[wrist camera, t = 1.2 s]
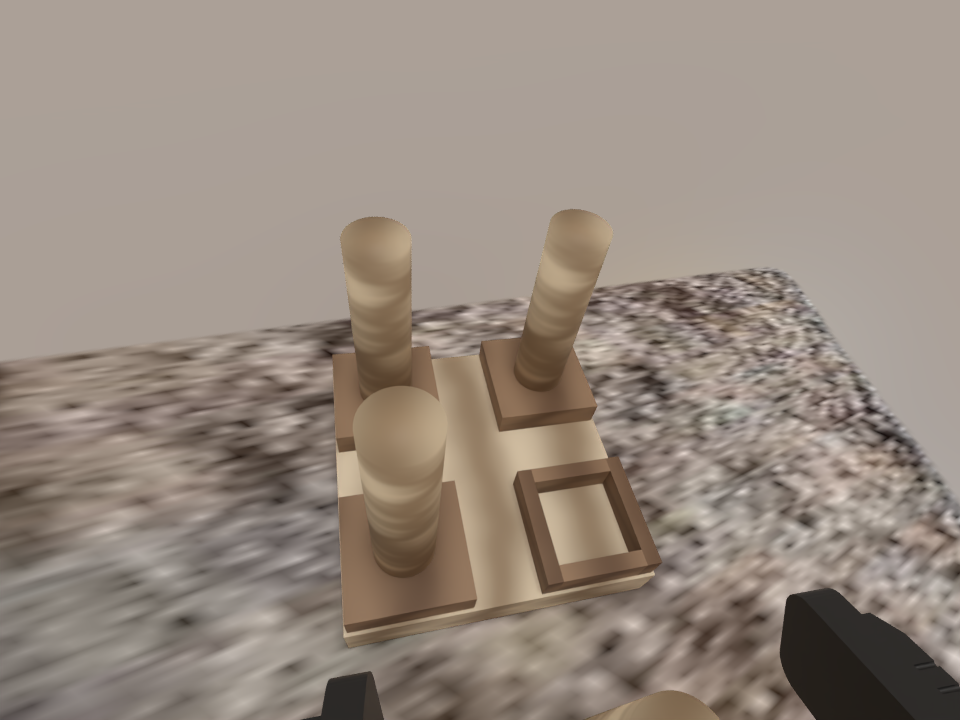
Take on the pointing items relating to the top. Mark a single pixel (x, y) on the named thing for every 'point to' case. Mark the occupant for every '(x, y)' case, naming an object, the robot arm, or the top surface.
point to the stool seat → (474, 453)
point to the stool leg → (660, 708)
